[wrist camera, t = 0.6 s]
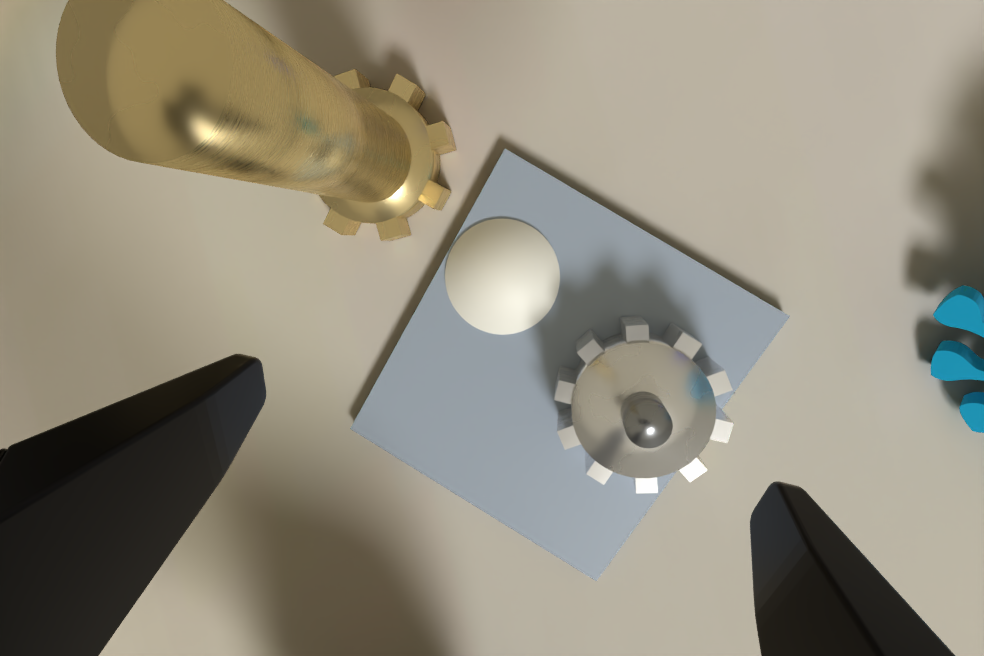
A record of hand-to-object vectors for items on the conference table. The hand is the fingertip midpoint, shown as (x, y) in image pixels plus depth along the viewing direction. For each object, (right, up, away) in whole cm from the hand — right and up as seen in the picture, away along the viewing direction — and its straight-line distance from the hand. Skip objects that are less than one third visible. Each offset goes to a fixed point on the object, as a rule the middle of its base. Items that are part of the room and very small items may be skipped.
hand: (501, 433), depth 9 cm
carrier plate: (+3, 0, +14) cm, 14 cm away
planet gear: (-5, +9, +13) cm, 17 cm away
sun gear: (+6, -1, +13) cm, 14 cm away
